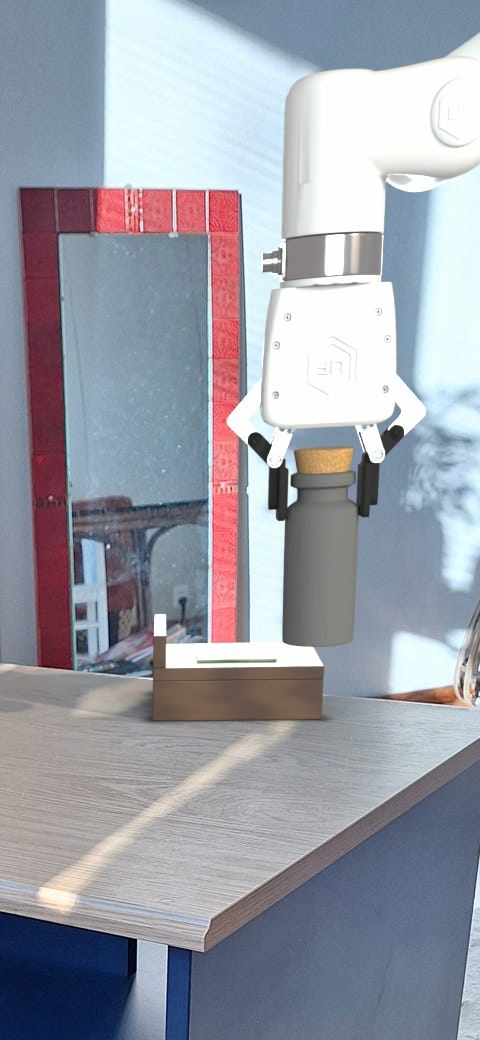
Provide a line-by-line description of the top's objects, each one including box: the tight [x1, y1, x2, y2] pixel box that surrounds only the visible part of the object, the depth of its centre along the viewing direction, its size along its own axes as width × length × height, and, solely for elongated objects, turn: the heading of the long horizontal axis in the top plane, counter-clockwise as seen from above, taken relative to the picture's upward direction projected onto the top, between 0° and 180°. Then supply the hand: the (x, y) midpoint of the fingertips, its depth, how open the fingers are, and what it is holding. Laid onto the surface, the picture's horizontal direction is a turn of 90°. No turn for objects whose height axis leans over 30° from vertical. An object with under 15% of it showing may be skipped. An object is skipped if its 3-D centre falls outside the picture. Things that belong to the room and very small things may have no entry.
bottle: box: [281, 445, 360, 648], centre depth 119 cm, size 6×6×15 cm
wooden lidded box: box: [152, 613, 325, 722], centre depth 145 cm, size 16×14×8 cm
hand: (321, 515), depth 118 cm, fingers closed on bottle, 5 cm apart
